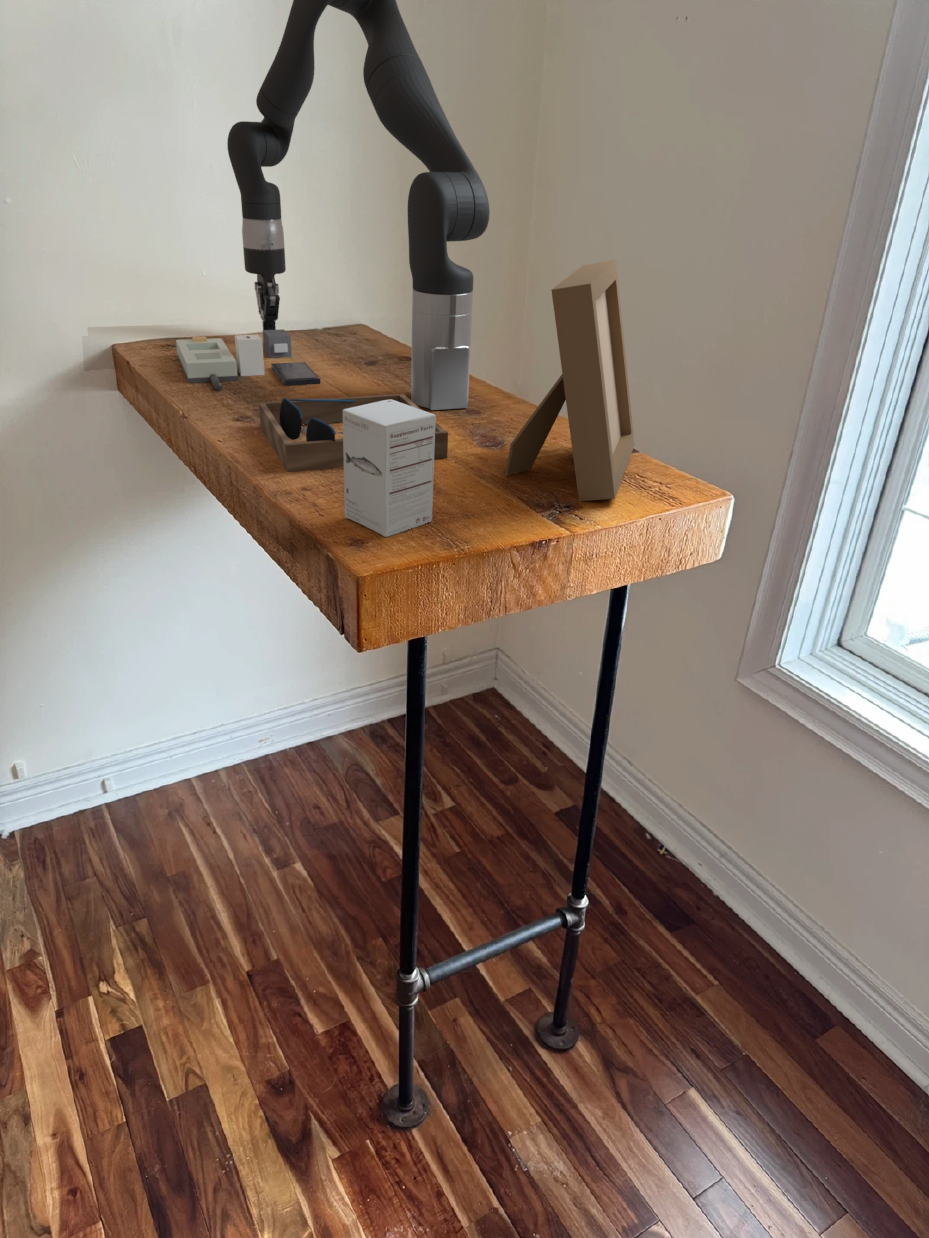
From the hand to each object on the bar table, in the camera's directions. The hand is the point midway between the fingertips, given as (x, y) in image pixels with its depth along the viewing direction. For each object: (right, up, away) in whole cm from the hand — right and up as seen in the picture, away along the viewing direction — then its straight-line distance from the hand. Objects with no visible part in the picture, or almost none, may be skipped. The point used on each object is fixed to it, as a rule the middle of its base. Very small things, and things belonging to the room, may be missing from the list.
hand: (270, 340), depth 172 cm
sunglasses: (+22, -29, -49) cm, 61 cm away
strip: (-6, -12, -20) cm, 24 cm away
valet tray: (+22, -29, -49) cm, 61 cm away
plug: (+3, -4, -5) cm, 7 cm away
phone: (+9, -12, -19) cm, 24 cm away
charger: (+1, -11, -18) cm, 21 cm away
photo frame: (+52, -35, -55) cm, 83 cm away
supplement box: (+29, -43, -72) cm, 89 cm away
